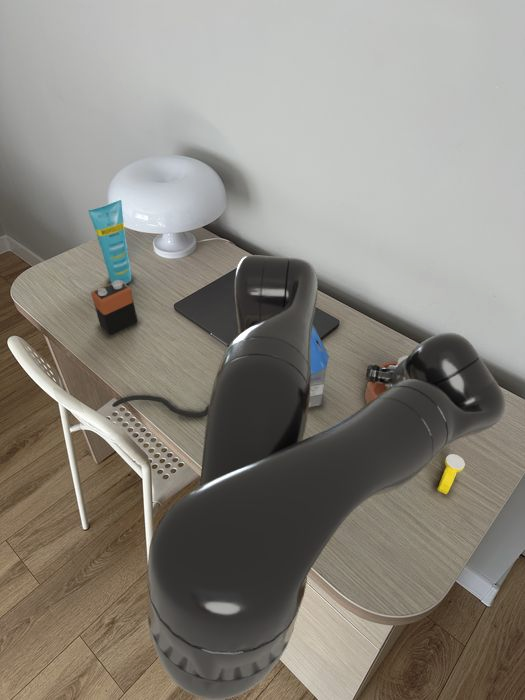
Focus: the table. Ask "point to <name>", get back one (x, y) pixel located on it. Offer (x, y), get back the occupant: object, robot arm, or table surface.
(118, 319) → the battery
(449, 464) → the yellow flashlight
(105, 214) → the tube
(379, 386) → the bowl
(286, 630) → the robot arm
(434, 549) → the table surface
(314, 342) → the blue grey carton
